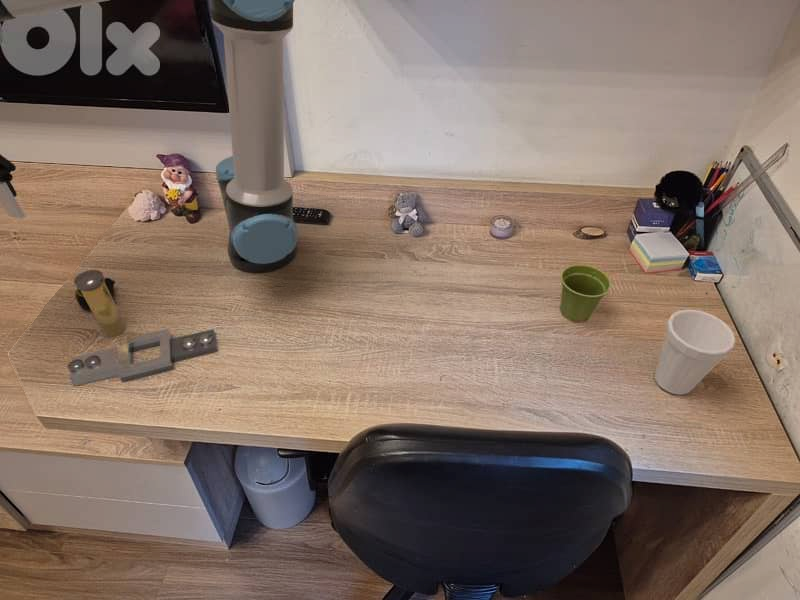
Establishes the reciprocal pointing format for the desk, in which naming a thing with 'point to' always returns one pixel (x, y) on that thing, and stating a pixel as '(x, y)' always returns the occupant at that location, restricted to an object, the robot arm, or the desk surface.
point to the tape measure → (82, 300)
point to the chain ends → (122, 361)
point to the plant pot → (582, 291)
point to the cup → (691, 349)
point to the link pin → (100, 302)
